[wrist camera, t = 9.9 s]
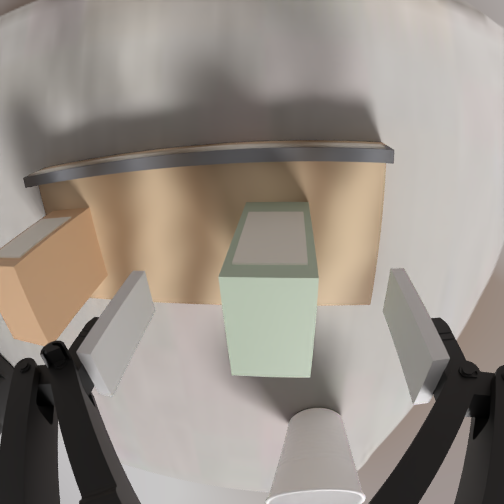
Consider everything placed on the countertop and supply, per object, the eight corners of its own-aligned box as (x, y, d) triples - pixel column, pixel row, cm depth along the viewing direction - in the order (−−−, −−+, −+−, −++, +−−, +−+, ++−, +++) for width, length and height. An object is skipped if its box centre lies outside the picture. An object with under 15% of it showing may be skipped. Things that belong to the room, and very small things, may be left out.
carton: (251, 280, 24) (231, 375, 16) (246, 200, 21) (218, 274, 13) (306, 281, 23) (310, 377, 15) (308, 200, 21) (318, 276, 13)
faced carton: (72, 273, 26) (14, 338, 18) (52, 209, 23) (-21, 264, 15) (107, 275, 25) (50, 347, 17) (89, 206, 22) (13, 265, 14)
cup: (293, 387, 31) (288, 484, 21) (374, 404, 31) (386, 491, 22) (261, 430, 36) (251, 509, 26) (332, 444, 36) (334, 517, 27)
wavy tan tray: (79, 289, 28) (64, 306, 26) (44, 166, 22) (22, 176, 20) (367, 295, 25) (374, 317, 22) (381, 140, 19) (394, 148, 17)
